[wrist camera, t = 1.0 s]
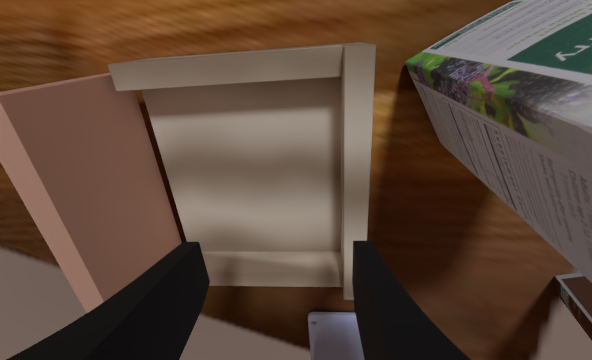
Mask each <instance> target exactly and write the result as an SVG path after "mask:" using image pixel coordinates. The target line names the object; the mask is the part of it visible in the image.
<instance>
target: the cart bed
mask: <svg viewBox="0 0 592 360" xmlns="http://www.w3.org/2000/svg"><path fill="white" fill-rule="evenodd" d="M375 54H376V45H373V44H367V43H362V42H358V43H345V44H332V45H319V46H306V47H293V48H280V49H267V50H254V51H241V52H228V53H214V54H201V55H188V56H175V57H162V58H151V59H143V60H136V61H129V62H121V63H114V64H108V67H109V70H110V73H111V76H112V79H113V82H114V85H115V88H116V91H125V90H140V89H141V90H142V94H143V97H144V100H145V104H146V107H147V110H148V114H149V117H150V120H151V124H152V127H153V130H154V134H155V137H156V140H157V144H158V147H159V150H160V154H161V157H162V160H163V164H164V167H165V170H166V174H167V177H168V180H169V184H170V187H171V190H172V194H173V197H174V200H175V204H176V207H177V210H178V214H179V217H180V220H181V224H182V227H183V230H184V234H185V237H186V240H187V242H199V243H200V247H201V251H202V254H203V258H204V262H205V265H206V269H207V272H208V276H209V280H210V284H209V286H292V287H343V293H344V300H354V297H353V286H352V270H353V241H367V227H368V205H369V183H370V162H371V140H372V118H373V97H374V75H375Z"/></svg>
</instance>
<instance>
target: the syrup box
mask: <svg viewBox="0 0 592 360" xmlns="http://www.w3.org/2000/svg"><path fill="white" fill-rule="evenodd" d="M405 64H406V66H407V68H408V71H409V73H410V76H411V78H412V80H413V82H414V84H415V87H416V89H417V91H418V93H419V95H420V98H421V100H422V102H423V104H424V107H425V109H426V111H427V114H428V116H429V118H430V121H431V123H432V125H433V128H434V130H435V132H436V135H437V137H438V139H439V141H440V143H441V144H442V145H443V146H444V147H445V148H446V149H447V150H448V151H449V152H450V153H451V154H453V155H454V156H455V157H456V158H457V159H458V160H459V161H460V162H461V163H462V164H463V165H464V166H465V167H467V168H468V169H469V170H470V171H471V172H472V173H473V174H474V175H475V176H476V177H477V178H478V179H480V180H481V181H482V182H483V183H484V184H485V185H486V186H487V187H488V188H489V189H490V190H491V191H492V192H494V193H495V194H496V195H497V196H498V197H499V198H500V199H501V200H502V201H503V202H504V203H505V204H507V205H508V206H509V207H510V208H511V209H512V210H513V211H514V212H515V213H516V214H517V215H519V216H520V217H521V218H522V219H523V220H524V221H525V222H526V223H527V224H528V225H529V226H531V227H532V228H533V229H534V230H535V231H536V232H537V233H538V234H539V235H540V236H541V237H542V238H544V239H545V240H546V241H547V242H548V243H549V244H550V245H551V246H552V247H553V248H555V249H556V250H557V251H558V252H559V253H560V254H561V255H562V256H563V257H564V258H565V259H567V260H568V261H569V262H570V263H571V264H572V265H573V266H574V267H575V268H576V269H577V270H578V271H580V272H581V273H582V274H583V275H584V276H585V277H586V278H587V279H588V280H589V281H590V282H591V283H592V0H517V1H512V2H509V3H507V4H505V5H503V6H501V7H500V8H498V9H496V10H494V11H492V12H490V13H488V14H487V15H485V16H483V17H481V18H479V19H477V20H475V21H473V22H472V23H470V24H468V25H466V26H465V27H463V28H461V29H460V30H458V31H456V32H454V33H453V34H451V35H449V36H447V37H446V38H444V39H442V40H440V41H439V42H437V43H435V44H434V45H432V46H430V47H429V48H427V49H425V50H423V51H422V52H420V53H419V54H417V55H415V56H414V57H412V58H410V59H408V60H407V61H406V63H405Z"/></svg>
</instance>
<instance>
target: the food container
mask: <svg viewBox="0 0 592 360" xmlns="http://www.w3.org/2000/svg"><path fill="white" fill-rule="evenodd" d="M555 289H556V291H557V292H558V294H559V296H560V298H561V300H562V301H563V303H564V304H565V305H566V307H567V308H568V309H569V310H570V312H571V313H572V315H573V316H574V317H575V319H576V320H577V321H578V323H579V324H580V325H581V326H582V328H583V329H584V331H585V332H586V333H587V334H588V336H589V337H590V338H591V340H592V283H591V282H590V281H589V280H588V279H587V278H586V277H585V276H584V275H583V274H582V273H573V274H566V275H558V276H555Z"/></svg>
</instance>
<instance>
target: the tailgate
mask: <svg viewBox="0 0 592 360" xmlns="http://www.w3.org/2000/svg"><path fill="white" fill-rule="evenodd" d="M0 162H1V164H2V165H3V167H4V169H5V171H6V172H7V174H8V176H9V178H10V179H11V181H12V183H13V185H14V186H15V188H16V190H17V192H18V193H19V195H20V197H21V199H22V200H23V202H24V204H25V206H26V207H27V209H28V211H29V213H30V214H31V216H32V218H33V220H34V221H35V223H36V225H37V227H38V228H39V230H40V232H41V234H42V235H43V237H44V239H45V241H46V242H47V244H48V246H49V248H50V249H51V251H52V253H53V255H54V256H55V258H56V260H57V262H58V264H59V265H60V267H61V269H62V271H63V272H64V274H65V276H66V278H67V279H68V281H69V283H70V285H71V286H72V288H73V290H74V291H75V293H76V295H77V297H78V298H79V300H80V302H81V304H82V305H83V307H84V309H85V311H86V313H88V312H90V311H91V310H93V309H94V308H96V307H97V306H99V305H100V304H102V303H103V302H105V301H106V300H108V299H109V298H110V297H112V296H113V295H114V294H116V293H117V292H119V291H120V290H121V289H123V288H124V287H125V286H127V285H128V284H130V283H131V282H132V281H134V280H135V279H136V278H138V277H139V276H140V275H141V274H143V273H144V272H145V271H147V270H148V269H149V268H150V267H152V266H153V265H154V264H155V263H157V262H158V261H159V260H161V259H162V258H163V257H164V256H166V255H167V254H168V253H169V252H171V251H172V250H173V249H175V248H176V247H177V246H179V245H180V244H181V243H182V242H181V238H180V235H179V232H178V229H177V225H176V222H175V219H174V216H173V213H172V209H171V206H170V203H169V200H168V196H167V193H166V190H165V187H164V184H163V180H162V177H161V174H160V171H159V167H158V164H157V161H156V158H155V155H154V151H153V148H152V145H151V142H150V138H149V135H148V132H147V129H146V126H145V122H144V119H143V116H142V113H141V109H140V106H139V103H138V100H137V97H136V93H135V90H125V91H116V88H115V85H114V82H113V79H112V76H111V73H106V74H100V75H94V76H89V77H83V78H77V79H72V80H66V81H60V82H55V83H49V84H43V85H38V86H32V87H26V88H21V89H15V90H9V91H4V92H0Z"/></svg>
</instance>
